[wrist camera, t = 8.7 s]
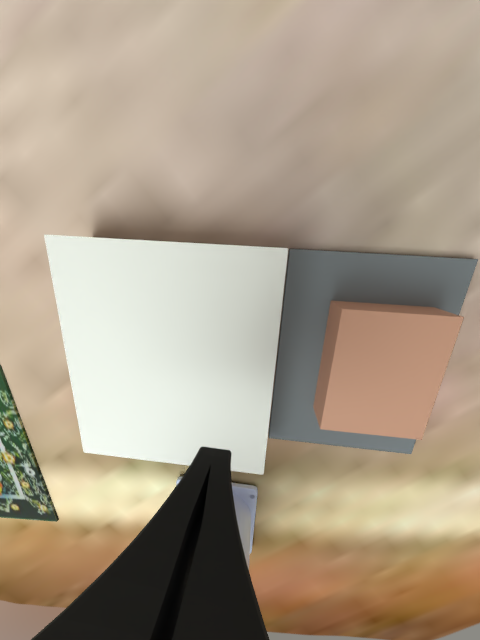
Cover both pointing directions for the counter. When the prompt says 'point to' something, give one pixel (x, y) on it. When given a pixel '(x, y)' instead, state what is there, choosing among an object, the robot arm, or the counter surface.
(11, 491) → the decorative card
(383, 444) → the mat
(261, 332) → the white platform
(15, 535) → the counter surface
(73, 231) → the counter surface
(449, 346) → the tile
